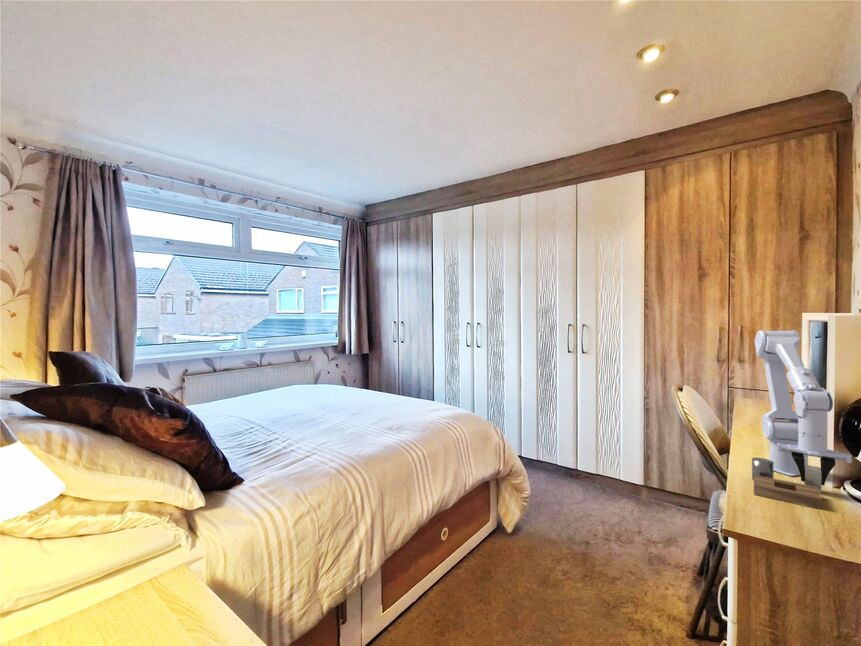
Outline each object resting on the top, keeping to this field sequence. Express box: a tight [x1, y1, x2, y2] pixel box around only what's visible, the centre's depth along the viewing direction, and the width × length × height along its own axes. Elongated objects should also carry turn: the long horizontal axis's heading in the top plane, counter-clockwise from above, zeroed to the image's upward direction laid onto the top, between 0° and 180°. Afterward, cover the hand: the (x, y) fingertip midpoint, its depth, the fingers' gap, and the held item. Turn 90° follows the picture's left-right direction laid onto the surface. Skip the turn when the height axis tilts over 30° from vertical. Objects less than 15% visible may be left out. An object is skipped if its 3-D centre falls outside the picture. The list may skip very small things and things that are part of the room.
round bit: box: [751, 457, 775, 481], centre depth 114 cm, size 5×5×6 cm
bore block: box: [753, 475, 823, 510], centre depth 104 cm, size 9×13×2 cm
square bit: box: [803, 464, 822, 494], centre depth 107 cm, size 3×3×6 cm
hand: (812, 482), depth 107 cm, fingers closed on square bit, 3 cm apart
